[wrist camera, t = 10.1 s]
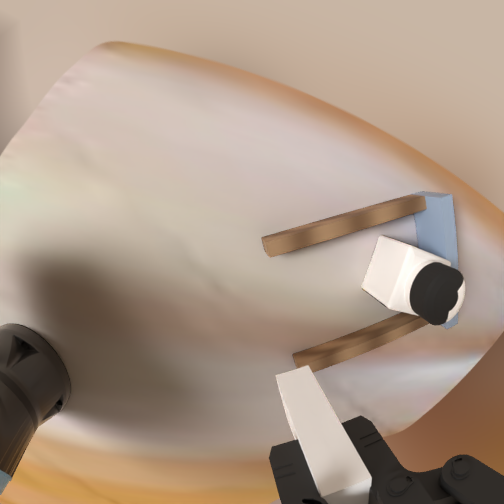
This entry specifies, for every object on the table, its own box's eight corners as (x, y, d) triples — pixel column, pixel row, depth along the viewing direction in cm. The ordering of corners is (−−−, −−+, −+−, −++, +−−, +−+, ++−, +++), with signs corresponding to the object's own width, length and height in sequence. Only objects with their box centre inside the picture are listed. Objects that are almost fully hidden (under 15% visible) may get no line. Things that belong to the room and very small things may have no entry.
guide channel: (295, 363, 38) (300, 376, 35) (261, 237, 34) (265, 242, 31) (422, 312, 39) (434, 320, 36) (410, 194, 35) (424, 196, 32)
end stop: (422, 312, 39) (447, 329, 33) (410, 194, 35) (440, 198, 29) (432, 307, 39) (457, 323, 34) (422, 191, 35) (451, 194, 29)
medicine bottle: (359, 288, 37) (411, 328, 25) (378, 233, 36) (440, 256, 24) (401, 299, 38) (455, 336, 27) (419, 249, 37) (480, 273, 25)
